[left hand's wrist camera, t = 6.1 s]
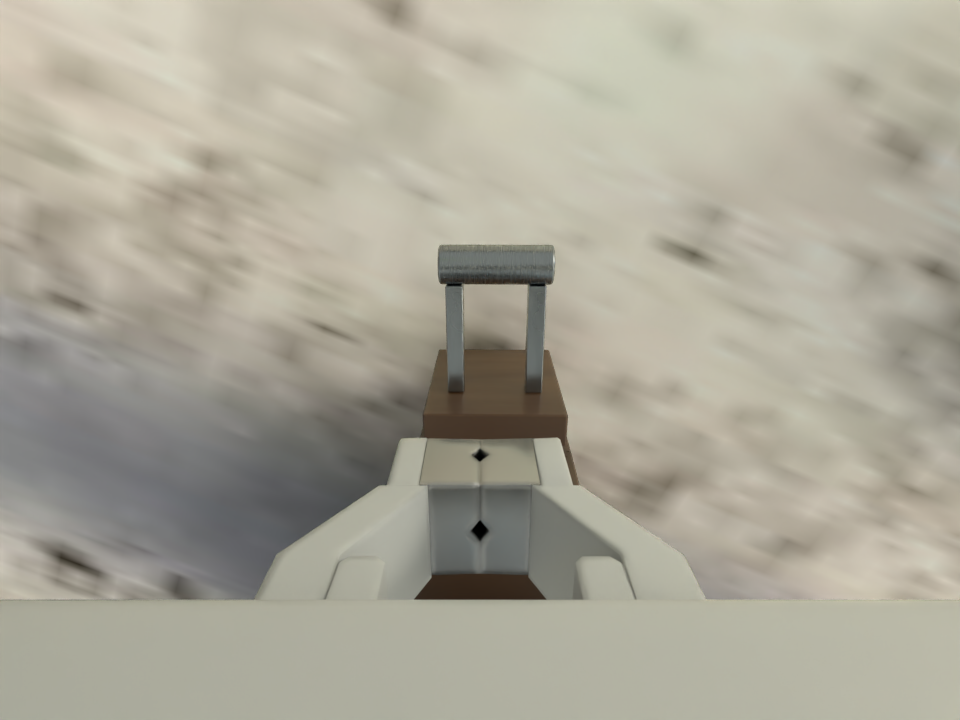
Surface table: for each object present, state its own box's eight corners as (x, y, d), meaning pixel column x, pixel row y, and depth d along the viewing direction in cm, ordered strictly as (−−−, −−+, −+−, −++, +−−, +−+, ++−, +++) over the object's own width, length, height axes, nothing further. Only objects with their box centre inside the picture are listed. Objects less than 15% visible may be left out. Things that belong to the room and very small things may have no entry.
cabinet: (429, 397, 26) (404, 500, 18) (556, 398, 25) (584, 502, 18) (440, 685, 33) (426, 845, 25) (540, 687, 33) (555, 848, 25)
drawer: (434, 227, 22) (415, 256, 16) (555, 227, 22) (578, 256, 16) (448, 652, 30) (438, 770, 25) (533, 653, 30) (544, 772, 25)
